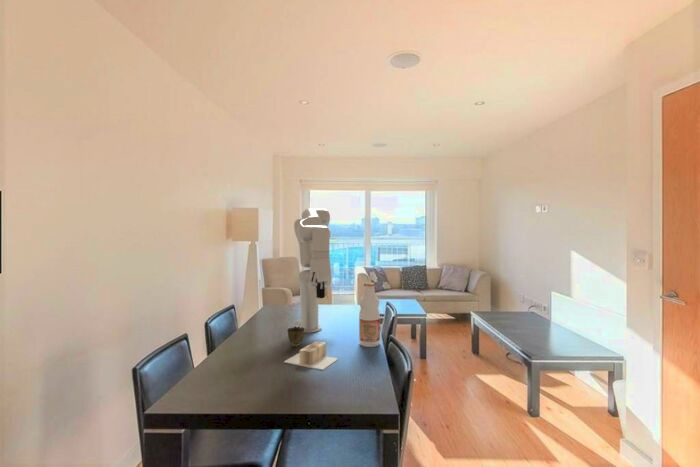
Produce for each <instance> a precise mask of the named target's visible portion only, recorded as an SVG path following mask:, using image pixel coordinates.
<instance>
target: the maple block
mask: <svg viewBox="0 0 700 467" xmlns="http://www.w3.org/2000/svg"><path fill="white" fill-rule="evenodd" d="M299 353H300V363H303V364H308V365H311V364H313V363H314V362H316V361H317V360H319V359H321V358H322V357H324V356H327V342H323V341H318V340H315V341H313V342H312V343H310V344H308V345H306V346H304V347H303V348H301V349H299Z"/></svg>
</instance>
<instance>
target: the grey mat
mask: <svg viewBox="0 0 700 467" xmlns="http://www.w3.org/2000/svg"><path fill="white" fill-rule="evenodd" d="M338 360H339V358H337V357H331V356H327V355H325V356H324V357H322V358H321V359H319V360H317V361H316V362H314V363H313V364H311V365H308V364H303V363H300V352H298V353H296V354H295V355H292V356H291V357H289V358H288V359H286V360H284V361H283V363H284V364H288V365H289V364H291V365H293V366H298V367H299V366H300V367H305V368H309V369H312V370H313V369H314V370H318V371H319V370H320V371H324V370H326V369H327V368H329V367H330V366H332V365H333V364H334V363H335V362H338Z"/></svg>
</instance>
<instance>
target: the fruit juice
mask: <svg viewBox="0 0 700 467" xmlns="http://www.w3.org/2000/svg"><path fill="white" fill-rule="evenodd" d="M375 285H376V284H375V282H364V283H363V288H364V290H363V293H362V296H361V297H360V299H359V307H360V310H359V314H358V316H359V317H358V319H359V320H358V322H359V324H358V325H359V326H358V327H359V329H358V330H359V331H358V332H359V334H358V336H359V341H358V342H359V345H360V346H361V347H366V348H375V347H378V346H379V345H380V343H381V335H380V334H381V332H380V331H381V326H380V325H381V320H380V319H381V316H380V314H381V313H380V310H379V308H380V299H379V298H378V296H377V295H376V292H375V287H376V286H375Z"/></svg>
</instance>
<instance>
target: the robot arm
mask: <svg viewBox="0 0 700 467" xmlns="http://www.w3.org/2000/svg"><path fill="white" fill-rule="evenodd" d="M330 221H331V214H330V212H329V210H328V209H326V208H307V209H304V210H303V211H302V213H301V218H298V219H296V220H295V221H294V224H293V228H294V229H293V230H294V233H295V237H296V239H297V241H298V247H299V261H300V266H301V267H302V268H304V269H305V270H301V271H300V272H299V273H298V275H297V276H298V277H297V278H298V279H297V280H298V285H299V296H300V297H299V299H300V300H299V301H300V303H299V306H300V310H299V311H300V313H299V315H300V319H295V322H294V325H297V326H298V327H299V328H302V327H303V328H304V334H305V333H317V332H320V331H321V330H322V326H321V325H319V299H325V297H326V294H325V293H326V288H328V287H331V285H332V282H333V281H332V268H331V259H330V238H331V229H330V228H329V227H328V226H329V224H330ZM315 289H316V291H315Z"/></svg>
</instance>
